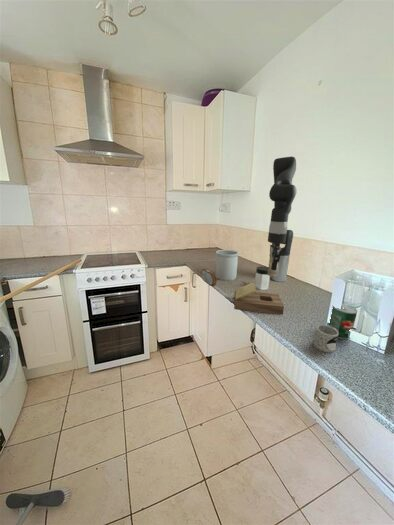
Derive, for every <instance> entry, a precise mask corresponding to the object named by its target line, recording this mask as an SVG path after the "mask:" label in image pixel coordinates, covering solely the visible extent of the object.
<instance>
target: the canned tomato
mask: <svg viewBox="0 0 394 525" xmlns="http://www.w3.org/2000/svg"><path fill="white" fill-rule="evenodd" d="M332 308H333V309H332ZM332 308H331V312H332V314H331V313H330V317H331V319H329V321H330V323H329V322H328V326H330V327H332V328H336V330H337V331H338V333H339V334H338V338H337V339H341V340H349V339H348V333H349V330H350V329H352V328H353V329H354V326H355V323H356V322H355V321H356V318H357V314H358V309H356V308H355V309H348V308H344V309H343V308H342V309H339V308H335V307H334V306H333V305H332Z"/></svg>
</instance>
